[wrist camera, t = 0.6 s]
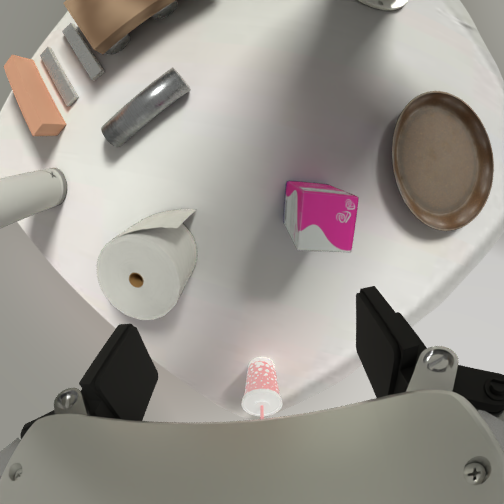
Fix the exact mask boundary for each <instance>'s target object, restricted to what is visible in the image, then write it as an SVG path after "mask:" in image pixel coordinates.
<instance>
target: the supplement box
mask: <svg viewBox="0 0 504 504" xmlns="http://www.w3.org/2000/svg"><path fill="white" fill-rule="evenodd" d="M357 207H358V197H356V196H354V195H352V194H350V193H347V192H345V191H342V190H340V189H337V188H335V187H333V186H330V185H327V184H318V183H308V182H297V181H287V183H286V193H285V206H284V221H283V222H284V224H285V226H286V228H287V230H288V232H289V234H290V236H291V238H292V240H293V242H294V244H295V246H296V248H297V250H299V251H329V252H351V249H352V243H353V237H354V230H355V222H356V215H357Z"/></svg>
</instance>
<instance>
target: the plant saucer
mask: <svg viewBox="0 0 504 504" xmlns="http://www.w3.org/2000/svg"><path fill="white" fill-rule="evenodd" d="M392 163H393V171H394V175H395V180H396V183H397V186H398V189H399V191H400V194H401V196H402V198H403V200H404V202H405V203H406V205H407V207H408V208H409V209H410V211H411V212H412V213H413V214H414V215H415V216H416V217H417V218H418V219H419V220H420V221H421V222H423V223H424V224H426V225H427V226H429V227H431V228H434V229H437V230H443V231H450V230H456V229H459V228H461V227H463V226H465V225H467V224H468V223H470V222H471V221H472V220H473V219H474V218H475V217H476V216H477V215H478V214H479V213H480V212H481V210H482V208H483V207H484V205H485V203H486V201H487V199H488V196H489V194H490V190H491V187H492V182H493V172H494V162H493V153H492V148H491V144H490V140H489V137H488V134H487V132H486V130H485V128H484V126H483V124H482V122H481V120H480V119H479V117H478V116H477V114H476V113H475V112H474V111H473V110H472V108H471V107H470V106H469V105H467V104H466V103H465V102H464V101H463V100H461V99H460V98H458V97H456V96H454V95H452V94H449V93H446V92H441V91H430V92H426V93H423V94H420V95H418V96H417V97H415V98H414V99H413V100H411V101H410V102H409V103H408V104H407V106H406V107H405V108H404V109H403V111H402V113H401V114H400V116H399V119H398V121H397V124H396V127H395V131H394V135H393V142H392Z"/></svg>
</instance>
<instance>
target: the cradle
mask: <svg viewBox="0 0 504 504" xmlns="http://www.w3.org/2000/svg"><path fill="white" fill-rule="evenodd" d="M62 32H63V34H64V35H65V37H66V39H67V40H68V42H69V44H70V45H71V47H72V49H73V50H74V52H75V54H76V55H77V57H78V59H79V60H80V62H81V63H82V65H83V67H84V68H85V70H86V71H87V73H88V75H89V76H90V78H91V79H92V80H96V79H97V78H98V77H100V76H101V75H102V74H103V73H104V72H105V71H104V70H103V68H102V67H101V65H100V64H99V62H98V61H97V59H96V57H95V56H94V54H93V53H92V51H91V50H90V48H89V47H88V45H87V44H86V42H85V41H84V39H83V38H82V36H81V35H80V33H79V31H78V30H77V28H76V27H75V25H74V24H72V23H70V24H69V25H68V26H67V27H66V28H65V29H64V30H63V31H62ZM40 56H41V58H42V60H43V62H44V64H45V66H46V68H47V70H48V72H49V74H50V76H51V78H52V80H53V82H54V84H55V86H56V88H57V89H58V91H59V93H60V95H61V97H62V99H63V100H64V102H65V104H66V106H71V105H72V104H73V103H74V102H75V101H76V100H77V99H78V95H77V93H76V92H75V90H74V88H73V86H72V85H71V83H70V81H69V80H68V78H67V76H66V74H65V72H64V71H63V69H62V67H61V65H60V63H59V62H58V60H57V58H56V56H55V54H54V52H53V51H52V49H51V48H49V47H47V48H46V49H45V50H44V52H43V53H42V54H41V55H40Z"/></svg>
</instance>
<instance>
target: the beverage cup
mask: <svg viewBox="0 0 504 504" xmlns="http://www.w3.org/2000/svg"><path fill="white" fill-rule="evenodd" d="M241 406H242V408H243V410H244V411H245V412H247V413H248V414H251V415H254V416H260V419H264V416H270V415H272V414H275V413H277V412H278V411H279V410H280V409H281V407H282V399H281V396H280V395H279V389H278V382H277V376H276V370H275V365H274V362H273V361H272V360H271V359H269V358H267V357H257V358H254V359H253V360H251V361H250V362H249V365H248V372H247V379H246V386H245V393H244V396H243V398H242V404H241Z"/></svg>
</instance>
